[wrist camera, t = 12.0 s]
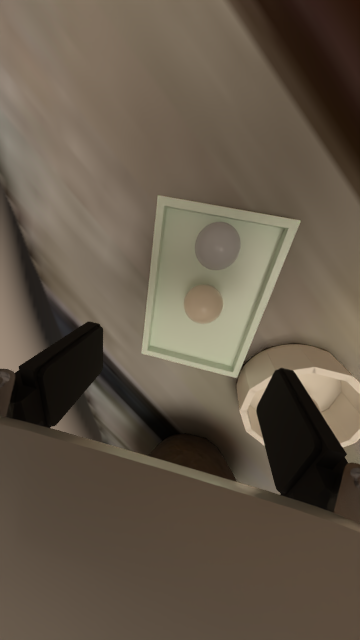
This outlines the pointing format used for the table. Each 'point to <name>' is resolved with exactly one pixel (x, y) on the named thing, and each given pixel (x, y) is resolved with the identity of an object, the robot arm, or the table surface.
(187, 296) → the pebble
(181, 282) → the tray
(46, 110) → the table surface
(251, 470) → the table surface
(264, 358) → the bowl
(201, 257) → the pebble
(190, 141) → the table surface
